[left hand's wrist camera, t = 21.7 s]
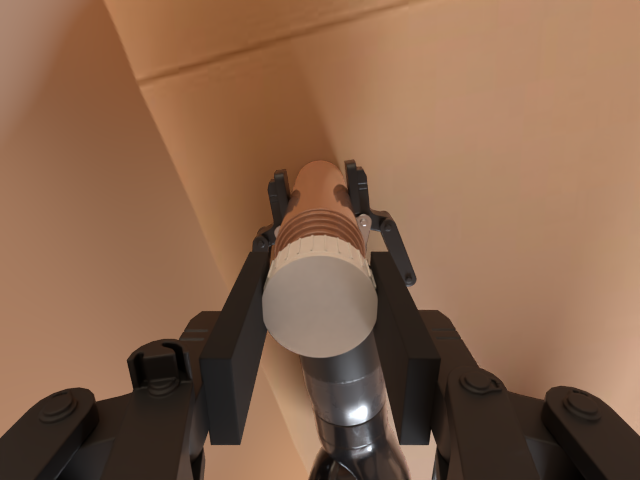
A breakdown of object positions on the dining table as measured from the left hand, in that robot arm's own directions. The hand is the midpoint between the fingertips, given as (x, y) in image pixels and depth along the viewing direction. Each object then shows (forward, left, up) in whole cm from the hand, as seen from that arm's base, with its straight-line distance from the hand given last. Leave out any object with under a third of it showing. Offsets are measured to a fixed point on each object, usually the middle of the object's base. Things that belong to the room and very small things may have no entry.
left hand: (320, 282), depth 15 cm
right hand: (-3, 0, -13) cm, 14 cm away
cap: (0, 0, +2) cm, 2 cm away
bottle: (0, 0, -20) cm, 20 cm away
